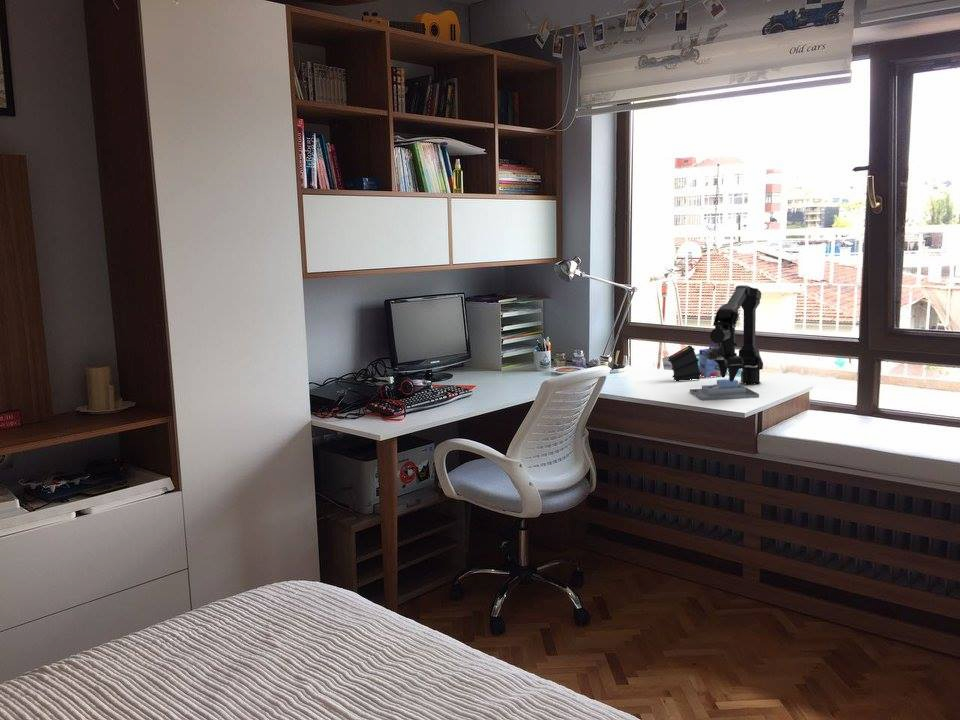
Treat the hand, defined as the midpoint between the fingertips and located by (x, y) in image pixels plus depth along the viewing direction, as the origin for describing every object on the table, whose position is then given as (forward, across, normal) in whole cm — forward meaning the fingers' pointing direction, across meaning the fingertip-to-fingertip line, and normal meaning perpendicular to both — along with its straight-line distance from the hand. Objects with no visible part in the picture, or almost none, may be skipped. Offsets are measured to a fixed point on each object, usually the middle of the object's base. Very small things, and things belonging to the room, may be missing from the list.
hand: (727, 379), depth 317 cm
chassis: (+6, 0, -1) cm, 6 cm away
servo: (+5, 0, 0) cm, 5 cm away
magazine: (+6, -34, -7) cm, 35 cm away
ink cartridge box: (+6, -40, +7) cm, 41 cm away
